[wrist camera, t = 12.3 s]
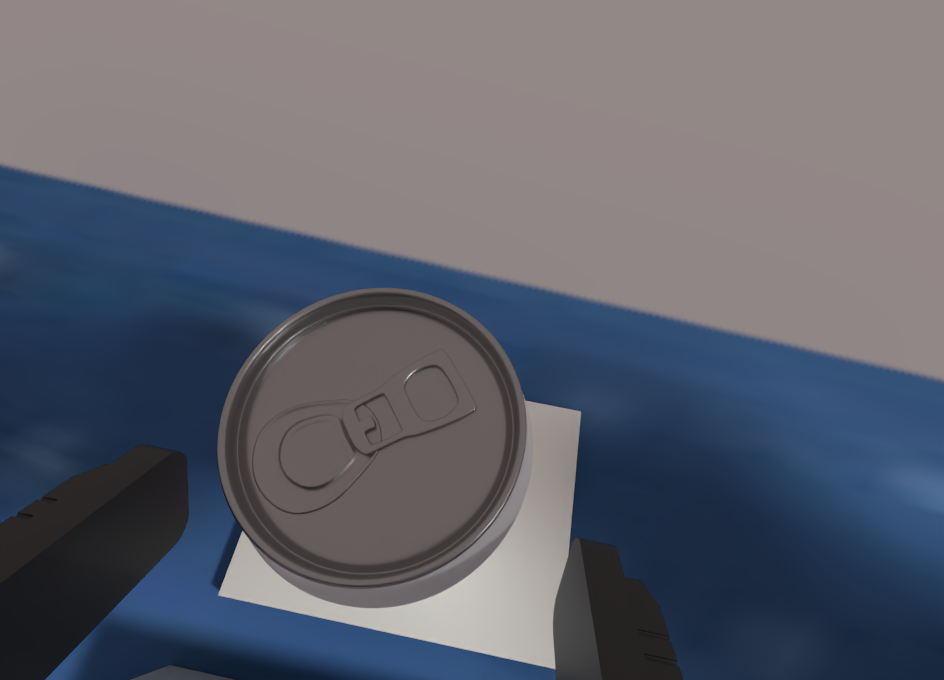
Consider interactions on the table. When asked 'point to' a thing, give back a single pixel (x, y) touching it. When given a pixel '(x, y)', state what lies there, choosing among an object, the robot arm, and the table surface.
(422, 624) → the mat
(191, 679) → the grey square frame
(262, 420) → the can
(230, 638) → the table surface
